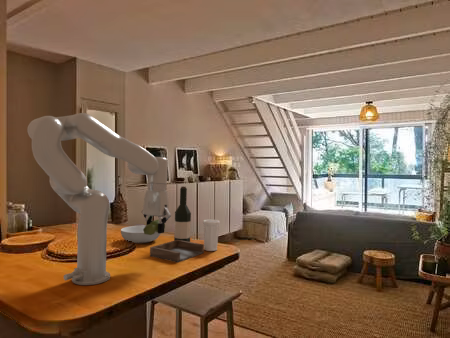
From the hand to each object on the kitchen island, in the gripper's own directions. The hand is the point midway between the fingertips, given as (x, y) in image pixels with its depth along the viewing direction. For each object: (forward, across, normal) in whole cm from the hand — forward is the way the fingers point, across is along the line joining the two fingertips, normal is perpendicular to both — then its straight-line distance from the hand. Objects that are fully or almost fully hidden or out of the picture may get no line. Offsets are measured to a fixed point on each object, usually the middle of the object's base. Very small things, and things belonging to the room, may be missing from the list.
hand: (155, 231), depth 135 cm
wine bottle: (+13, -13, +34) cm, 39 cm away
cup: (+13, +4, +35) cm, 38 cm away
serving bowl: (+14, -35, +27) cm, 46 cm away
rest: (+14, -3, +19) cm, 23 cm away
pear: (+1, 0, -1) cm, 1 cm away
